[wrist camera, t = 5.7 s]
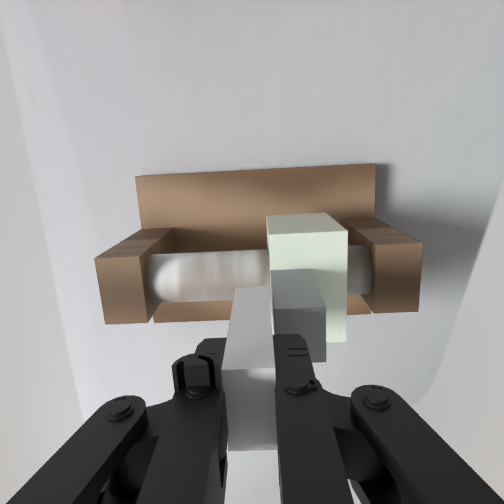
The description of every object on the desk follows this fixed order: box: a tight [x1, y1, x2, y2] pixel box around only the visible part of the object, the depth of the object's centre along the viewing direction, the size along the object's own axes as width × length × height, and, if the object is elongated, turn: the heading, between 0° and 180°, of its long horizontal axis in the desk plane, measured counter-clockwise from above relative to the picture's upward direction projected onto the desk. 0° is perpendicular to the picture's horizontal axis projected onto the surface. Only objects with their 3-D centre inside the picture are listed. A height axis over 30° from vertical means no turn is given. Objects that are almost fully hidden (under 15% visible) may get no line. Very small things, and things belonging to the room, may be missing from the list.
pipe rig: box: [94, 164, 423, 324], centre depth 25 cm, size 12×18×10 cm, turn 93°
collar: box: [266, 213, 348, 362], centre depth 20 cm, size 6×4×11 cm, turn 3°
